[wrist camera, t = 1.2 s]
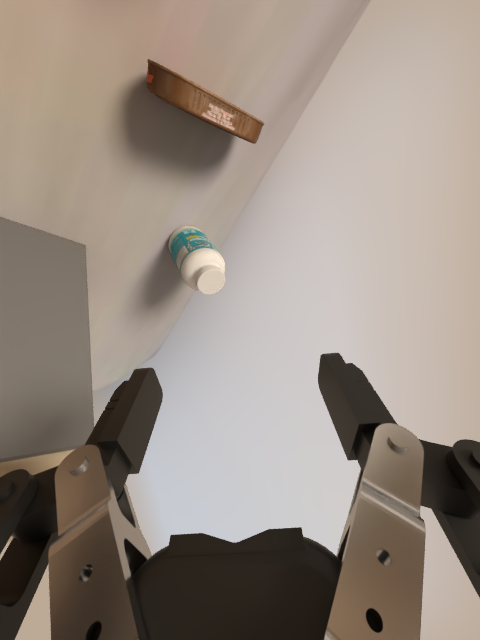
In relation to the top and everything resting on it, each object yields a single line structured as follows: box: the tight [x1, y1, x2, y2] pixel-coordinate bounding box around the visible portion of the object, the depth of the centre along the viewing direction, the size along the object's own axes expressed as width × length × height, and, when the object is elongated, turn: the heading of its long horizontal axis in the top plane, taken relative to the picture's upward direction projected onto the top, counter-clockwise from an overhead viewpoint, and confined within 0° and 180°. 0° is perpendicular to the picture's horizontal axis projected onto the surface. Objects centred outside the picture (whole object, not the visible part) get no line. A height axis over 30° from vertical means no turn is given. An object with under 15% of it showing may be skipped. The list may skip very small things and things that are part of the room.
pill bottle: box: [169, 226, 225, 294], centre depth 40 cm, size 8×7×14 cm
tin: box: [147, 59, 264, 143], centre depth 29 cm, size 15×3×8 cm, turn 68°
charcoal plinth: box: [0, 217, 94, 463], centre depth 25 cm, size 12×10×32 cm
